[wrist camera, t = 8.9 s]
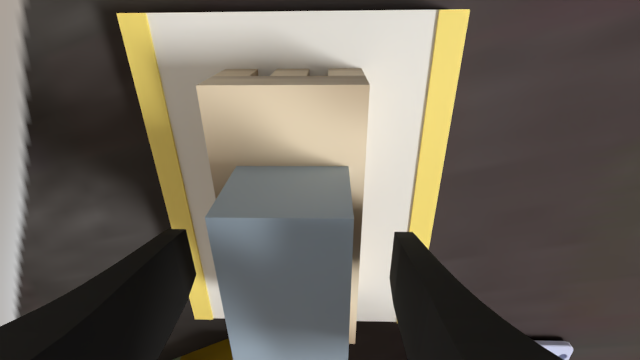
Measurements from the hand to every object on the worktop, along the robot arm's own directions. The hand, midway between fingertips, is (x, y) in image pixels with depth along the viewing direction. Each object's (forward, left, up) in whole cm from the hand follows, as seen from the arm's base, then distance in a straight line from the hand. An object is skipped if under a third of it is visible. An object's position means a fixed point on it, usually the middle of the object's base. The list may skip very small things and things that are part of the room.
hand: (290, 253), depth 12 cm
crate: (0, 0, 0) cm, 1 cm away
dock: (0, 0, -6) cm, 6 cm away
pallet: (0, 0, -3) cm, 4 cm away
